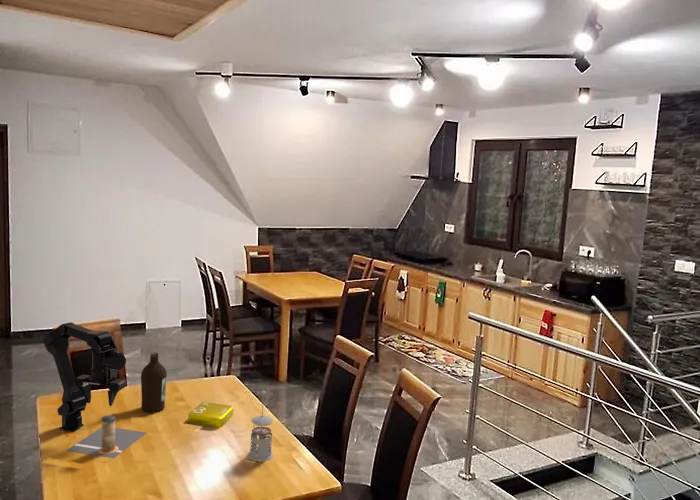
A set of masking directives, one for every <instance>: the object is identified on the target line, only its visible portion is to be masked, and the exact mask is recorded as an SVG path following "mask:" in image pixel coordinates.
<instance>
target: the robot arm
mask: <svg viewBox="0 0 700 500" xmlns="http://www.w3.org/2000/svg"><path fill="white" fill-rule="evenodd" d="M70 338H75V339H77V340H80V341H82V342H86V344H87V345H86V346H88V347H90V349H88V351H87V352H88V353H91V355H92V356H91V357H92V359H91V361H92V362H91V363H92V364H91V368H89V372H90V373H91V375H89V374H81V375H79V376H77V377H75V373H74V369H73V368H72V364H71V361H70V356H69V354H68V348H69V345H70V342H69V341H70V340H69V339H70ZM42 339H43V345H44V347H45V349H46V351H47V352H48V353H49V354H51V355H52V357H53V360H54V363H55V366H56V368H57V369H56V370H57V372H58V375H59V378H60V379H59V380H60V382H61V386H62V388H63V392H62V397H61V403H62V404H61V405H60V406H59V407H58V408H56V409H57V415H59V416H61V426H60V427H59V428H58V429H59V430H61V431H69V432H75V431H77V430H78V429H80V428H81V427H83V426H84V423H83V417H82V412H83V411H85V410H86V407H87V404H91V401H92V387H93V385H95V386H104V387H108V390H107V397H108V398H107V399H108V405H109V407H112V406H113V404H114V401H115V399H116V397H117V395H118V393H119V392H120V391H121V390H123V389H125V388H126V387H127V381H126V380H125V379H121V378H117V377H118V373H119V371H121V370H122V369H123V368H124V367H125V366H126V364H127V358H126V356H125V355H123V352H122V351H121V350H118V346H117V343H116V342H115V341H114V339H113V336H112V335H111V333H110V332H109V330H108V331H107V330H92V329H89V328H87V327H83V326H81V325H78V324H75V323H74V322H66V323H62V324H60V325H58V326H57V328H55V329H53V330H51V331H50V332H49V333H46V334H45V335H44V337H43V338H42ZM113 378H115V379H113ZM112 379H113V380H112ZM109 380H110V381H109ZM111 380H112V381H111Z"/></svg>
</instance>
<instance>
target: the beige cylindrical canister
mask: <svg viewBox="0 0 700 500" xmlns="http://www.w3.org/2000/svg"><path fill="white" fill-rule="evenodd" d="M116 419H117V418H116V415H113V414H109V415H108V414H107V415H104V416H102V417H101V427H102V451H103V452H111V451H113V450H115V428H116Z"/></svg>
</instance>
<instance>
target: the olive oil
mask: <svg viewBox="0 0 700 500" xmlns="http://www.w3.org/2000/svg"><path fill="white" fill-rule="evenodd" d="M149 357H150V358H149V360H150V361H149V362H148V363H147V365H145V366H144V367H143V369H142V370H141V373H140V384H141V385H140V386H141V388H140V390H141V391H140V393H141V411H142V412H144V413H148V414H149V413H150V414H154V413H159V412H162V411H163V410H164V409H165V407H166V406H165V404H166V402H165V401H166V391H167V390H166V389H167V380H168V379H167V377H168V375H167V374H168V373H167V370H166V368H165V367H164V366H163V364H162V363H161V362H160V361H159V357H160V356H159V352H156V351H153V352H151V353H150V356H149Z"/></svg>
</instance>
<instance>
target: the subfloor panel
mask: <svg viewBox="0 0 700 500" xmlns="http://www.w3.org/2000/svg"><path fill="white" fill-rule="evenodd" d="M145 435H147V432H145V431H140V430H139V431H137V430H131V429H124V428H120V427H119V428H118V427H115V450H113V451H111V452H103V451H102V426H101V427H99V428H98V429H96V430H95V431H93V432H92V433H91V434H89V435H87V436H86V437H85V438H83V439H81V440H80V441H77V443H75V444H73V445H72V446H71V447H69V448H68V449H66V450H65V451H66V452H71V453H79V454H84V455H91V456H97V457H104V458H109V459H110V458H111V459H115V458H117V457H118V456H119V455H120V454H121V453H123V452H124V451H126V450H127V449H128V448H130V447H131V446H132V445H133V444H135V443H136V442H137V441H139V440H140V439H142V437H144V436H145Z"/></svg>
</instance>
